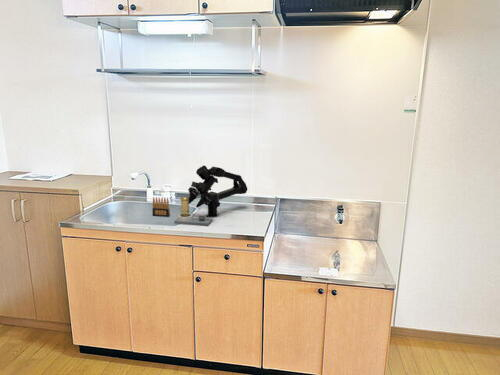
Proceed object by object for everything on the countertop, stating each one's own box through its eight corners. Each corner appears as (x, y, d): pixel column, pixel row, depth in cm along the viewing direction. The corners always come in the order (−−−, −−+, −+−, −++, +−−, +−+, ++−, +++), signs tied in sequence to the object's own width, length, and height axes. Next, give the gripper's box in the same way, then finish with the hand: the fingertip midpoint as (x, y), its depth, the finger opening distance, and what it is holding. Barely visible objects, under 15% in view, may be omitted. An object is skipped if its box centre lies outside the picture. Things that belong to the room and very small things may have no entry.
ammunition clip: (170, 216, 226) (169, 197, 224) (169, 217, 225) (168, 198, 222) (153, 215, 228) (152, 196, 225) (152, 216, 226) (151, 197, 224)
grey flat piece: (179, 218, 221) (179, 212, 221) (212, 221, 218) (212, 214, 217) (174, 223, 213) (174, 216, 212) (208, 226, 210) (208, 219, 209)
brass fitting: (189, 218, 218) (189, 196, 215) (188, 220, 214) (188, 198, 211) (182, 218, 218) (181, 196, 215) (180, 220, 214) (180, 198, 211)
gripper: (190, 173, 224) (175, 194, 219) (208, 178, 211) (192, 200, 206) (201, 184, 231) (186, 205, 226) (219, 190, 217) (204, 211, 213)
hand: (192, 205), depth 218 cm, fingers open, 9 cm apart
